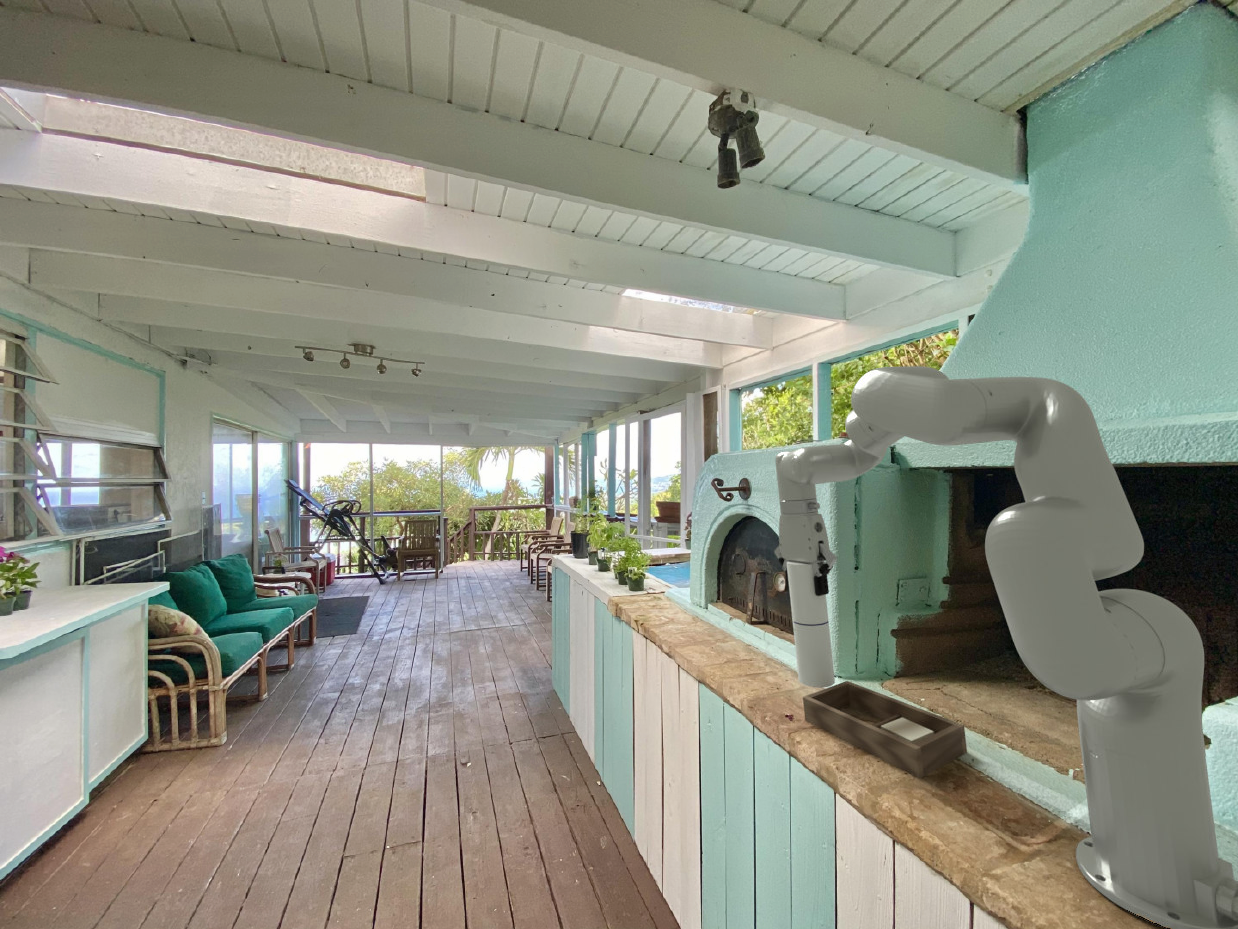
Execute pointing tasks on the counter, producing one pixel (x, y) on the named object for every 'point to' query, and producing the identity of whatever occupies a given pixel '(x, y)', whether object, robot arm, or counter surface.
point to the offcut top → (907, 730)
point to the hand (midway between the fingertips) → (807, 591)
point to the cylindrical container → (810, 627)
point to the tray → (881, 743)
